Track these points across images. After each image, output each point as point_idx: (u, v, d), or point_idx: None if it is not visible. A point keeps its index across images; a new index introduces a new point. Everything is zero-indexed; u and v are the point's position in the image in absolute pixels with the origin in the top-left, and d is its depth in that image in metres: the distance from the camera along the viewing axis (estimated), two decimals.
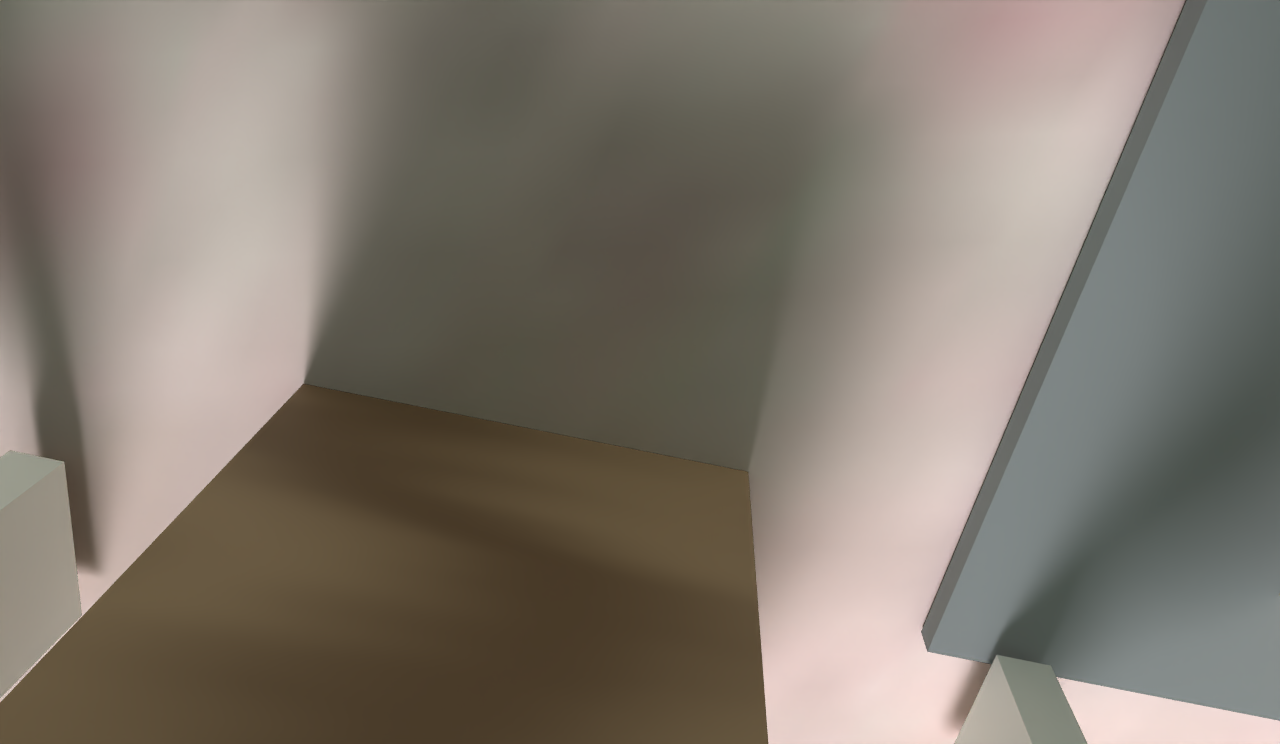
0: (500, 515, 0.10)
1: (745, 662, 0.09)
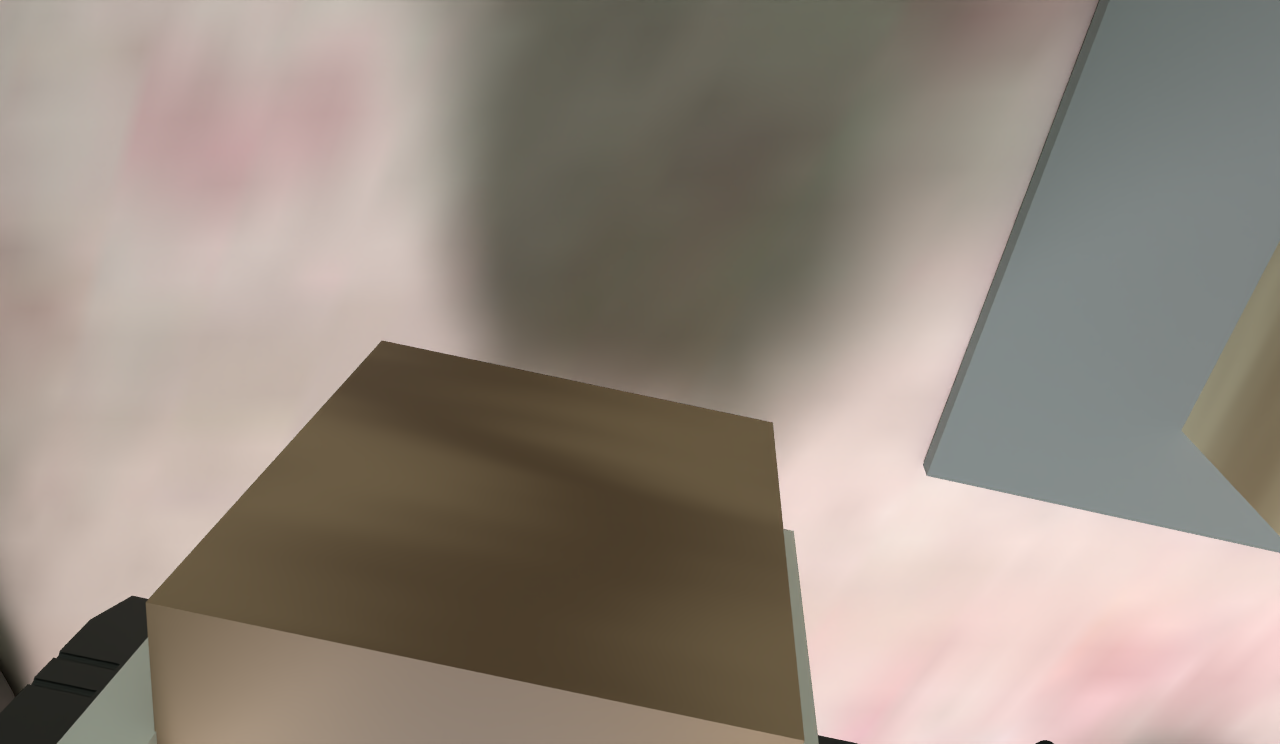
0: (557, 451, 0.11)
1: (773, 571, 0.10)
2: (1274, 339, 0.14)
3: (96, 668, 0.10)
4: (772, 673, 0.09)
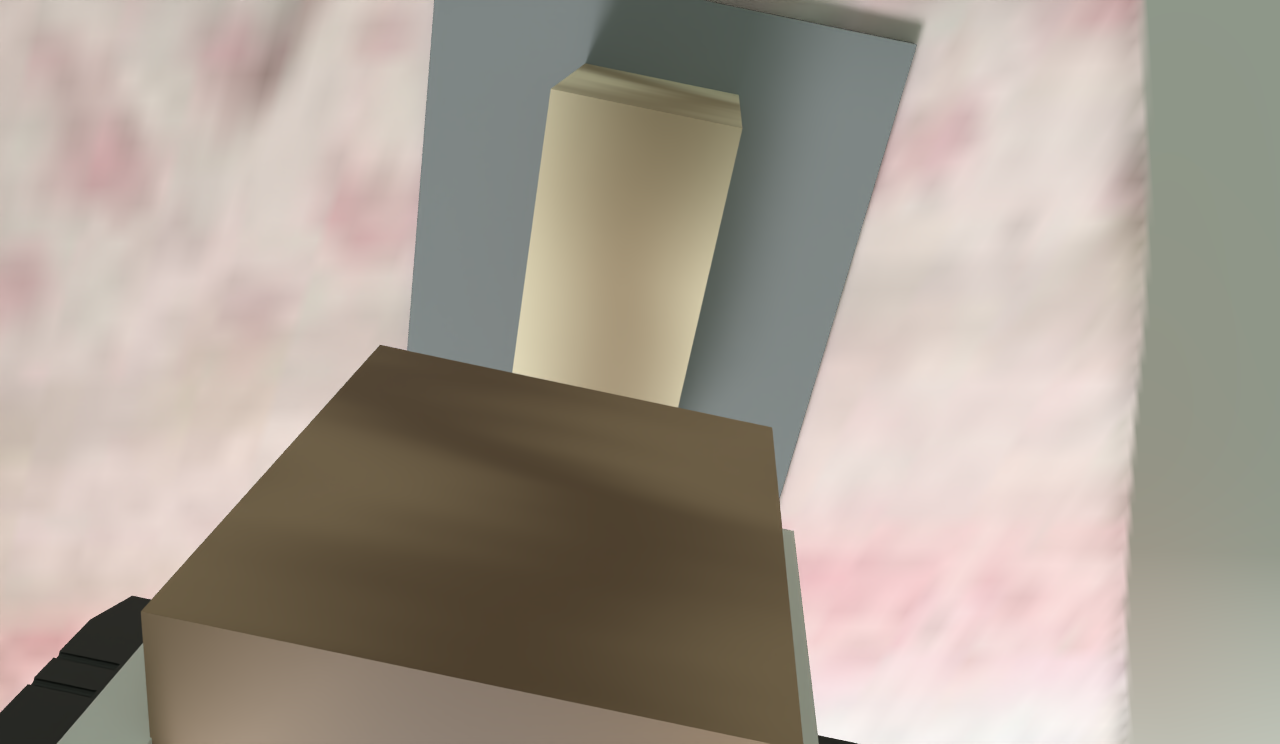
0: (556, 457, 0.11)
1: (772, 578, 0.10)
2: None
3: (96, 668, 0.10)
4: (771, 682, 0.09)
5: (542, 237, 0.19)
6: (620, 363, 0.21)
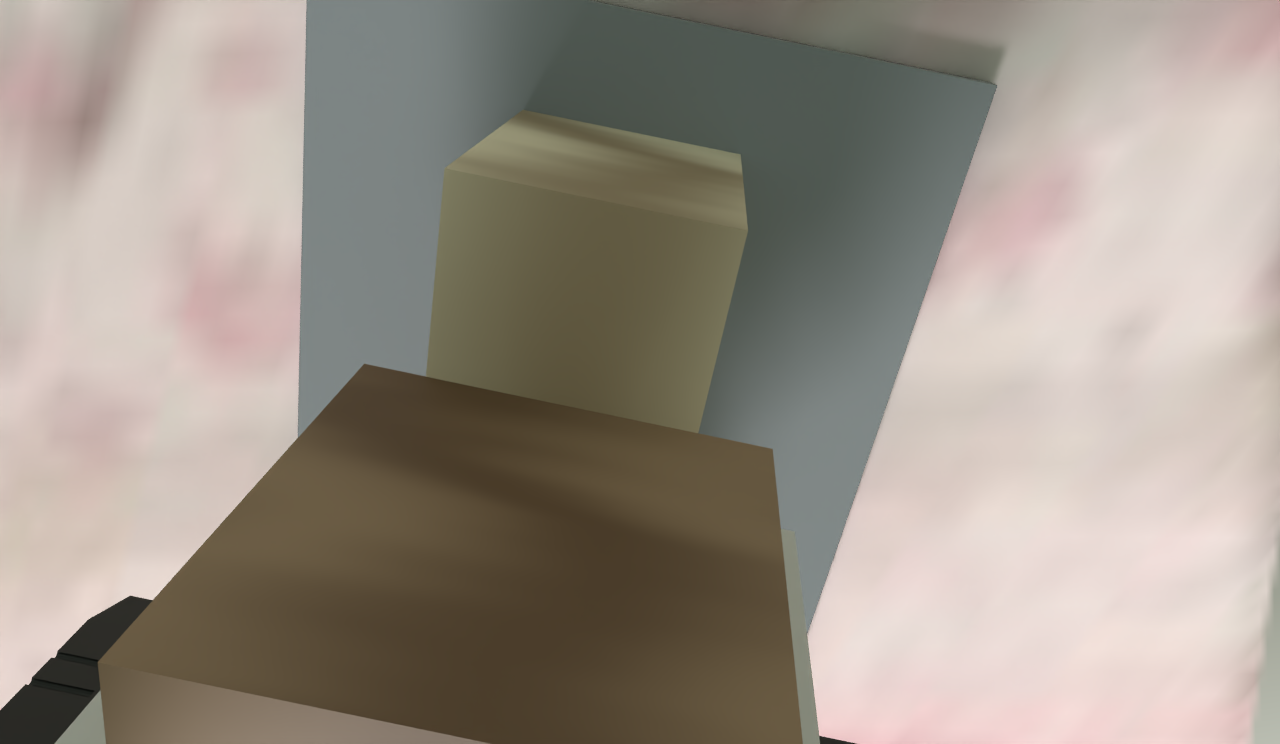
0: (547, 484, 0.11)
1: (774, 615, 0.09)
2: None
3: (93, 668, 0.10)
4: (774, 732, 0.08)
5: None
6: None
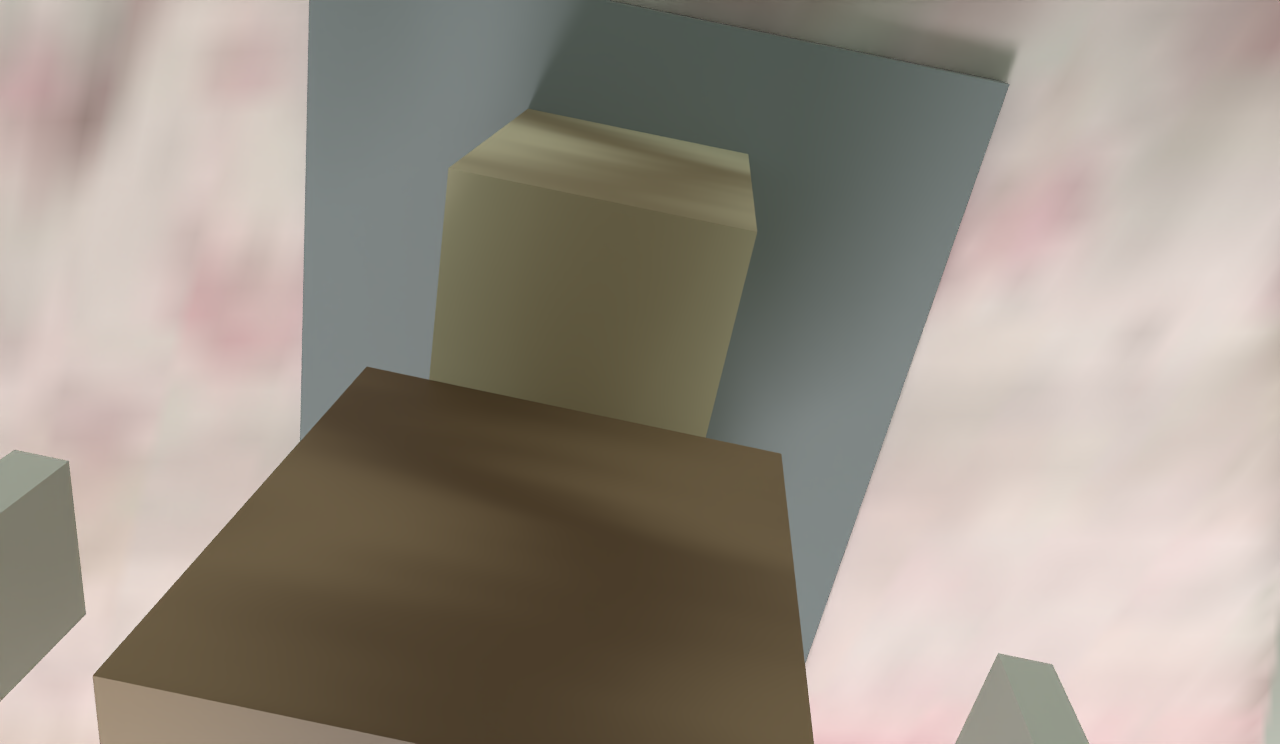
0: (552, 489, 0.11)
1: (785, 625, 0.09)
2: None
3: None
4: None
5: None
6: None
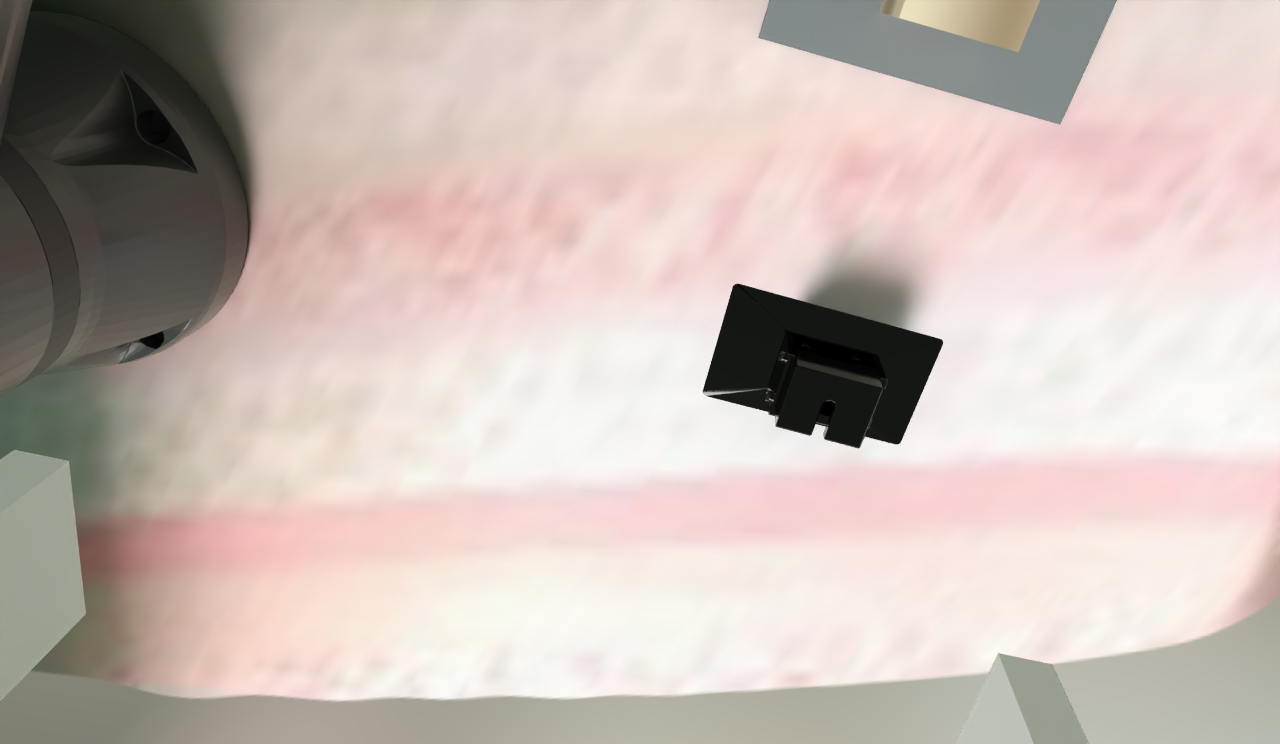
0: None
1: None
2: None
3: None
4: None
5: None
6: None
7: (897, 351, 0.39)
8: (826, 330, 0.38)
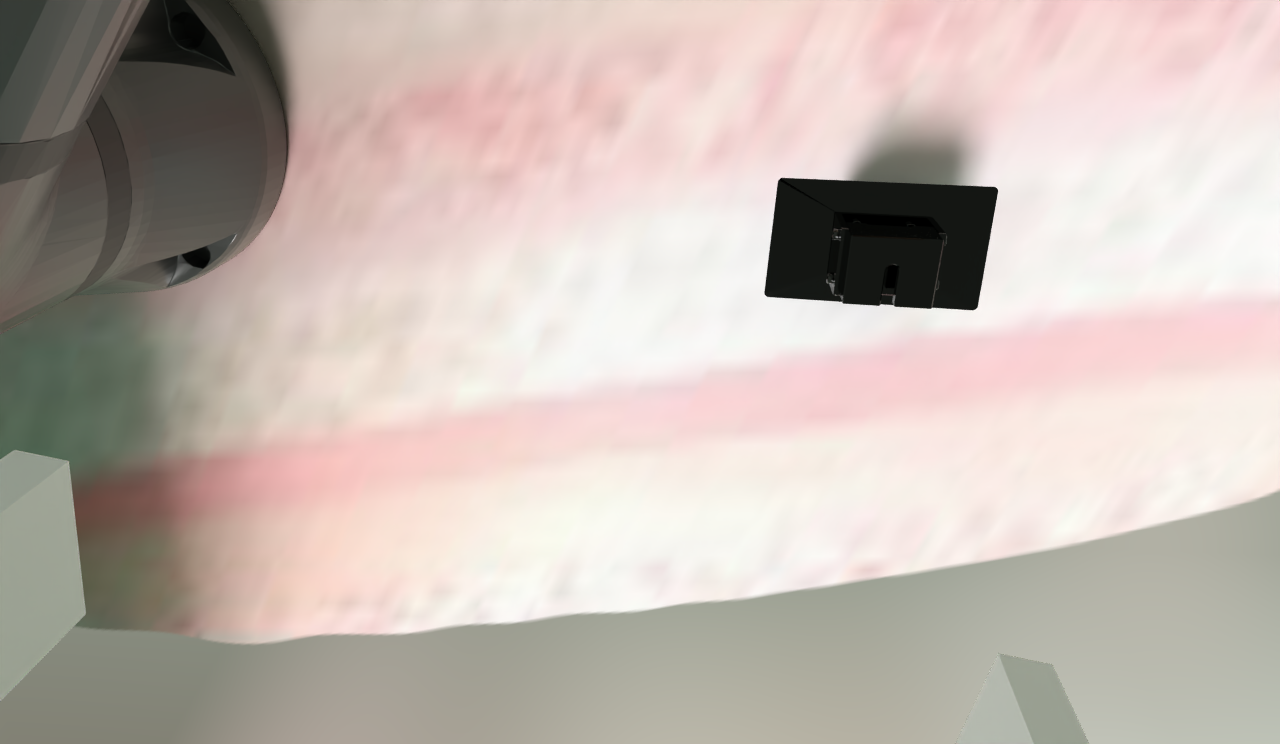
0: None
1: None
2: None
3: None
4: None
5: None
6: None
7: (951, 209, 0.38)
8: (874, 203, 0.38)
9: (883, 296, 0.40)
